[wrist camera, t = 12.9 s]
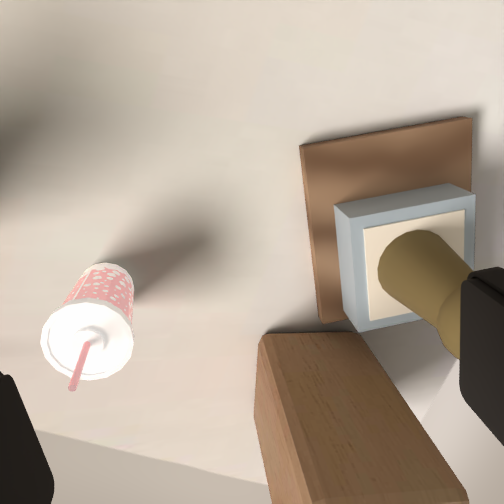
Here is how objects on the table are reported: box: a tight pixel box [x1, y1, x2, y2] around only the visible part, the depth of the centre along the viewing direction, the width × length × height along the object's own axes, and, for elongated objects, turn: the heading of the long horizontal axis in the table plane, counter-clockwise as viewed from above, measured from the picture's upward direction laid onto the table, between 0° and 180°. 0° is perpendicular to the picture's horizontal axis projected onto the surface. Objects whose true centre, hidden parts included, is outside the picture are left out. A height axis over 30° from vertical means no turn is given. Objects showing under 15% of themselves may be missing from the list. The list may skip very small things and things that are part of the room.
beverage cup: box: [40, 262, 134, 391], centre depth 34 cm, size 6×6×14 cm
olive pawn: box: [377, 230, 474, 360], centre depth 33 cm, size 6×6×11 cm
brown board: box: [299, 117, 472, 324], centre depth 42 cm, size 16×14×2 cm
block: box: [254, 332, 469, 504], centre depth 38 cm, size 10×10×20 cm
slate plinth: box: [334, 183, 476, 333], centre depth 40 cm, size 10×10×4 cm
